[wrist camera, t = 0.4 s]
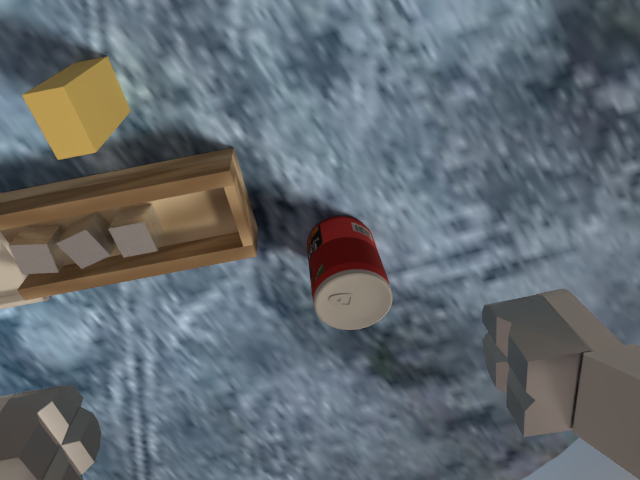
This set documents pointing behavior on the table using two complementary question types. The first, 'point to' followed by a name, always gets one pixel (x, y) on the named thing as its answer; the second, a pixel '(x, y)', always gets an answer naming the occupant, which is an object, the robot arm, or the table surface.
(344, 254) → the canned food
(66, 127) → the block
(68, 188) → the open wooden box
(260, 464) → the table surface
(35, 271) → the grey and brown cube
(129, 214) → the grey cubic block
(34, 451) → the robot arm
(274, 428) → the table surface
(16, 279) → the tray
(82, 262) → the grey piece
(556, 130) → the table surface
